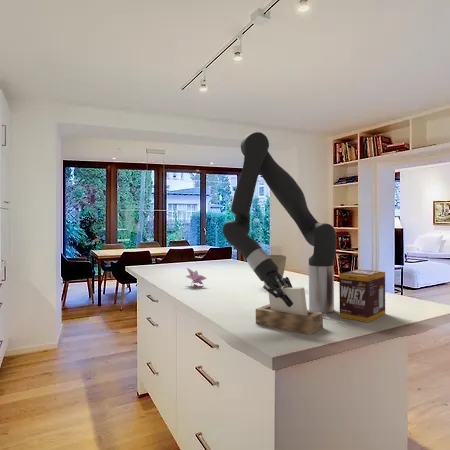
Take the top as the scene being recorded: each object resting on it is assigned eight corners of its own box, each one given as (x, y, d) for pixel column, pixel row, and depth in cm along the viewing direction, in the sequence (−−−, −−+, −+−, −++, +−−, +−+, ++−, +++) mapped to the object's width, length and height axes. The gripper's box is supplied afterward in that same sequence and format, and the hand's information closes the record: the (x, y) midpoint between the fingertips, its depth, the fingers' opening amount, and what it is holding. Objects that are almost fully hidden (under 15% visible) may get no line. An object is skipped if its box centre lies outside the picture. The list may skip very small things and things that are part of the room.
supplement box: (338, 317, 128) (338, 273, 128) (358, 309, 139) (358, 268, 138) (367, 322, 120) (367, 276, 120) (385, 313, 131) (385, 271, 131)
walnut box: (255, 322, 122) (255, 308, 121) (270, 317, 128) (270, 303, 128) (309, 334, 109) (309, 318, 109) (322, 327, 116) (322, 312, 115)
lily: (207, 290, 185) (211, 272, 190) (187, 283, 181) (191, 265, 185) (197, 293, 195) (200, 277, 199) (177, 287, 190) (181, 270, 194)
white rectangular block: (271, 318, 121) (268, 289, 122) (276, 317, 123) (272, 287, 124) (303, 320, 113) (299, 288, 114) (308, 318, 116) (304, 287, 116)
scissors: (319, 310, 137) (361, 322, 119) (319, 312, 137) (361, 325, 119) (297, 313, 132) (338, 327, 114) (297, 316, 132) (338, 330, 114)
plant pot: (285, 283, 194) (285, 254, 194) (287, 289, 179) (287, 257, 179) (257, 283, 196) (257, 254, 195) (257, 289, 181) (257, 257, 181)
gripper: (256, 259, 118) (290, 301, 110) (279, 255, 128) (311, 294, 121) (244, 273, 121) (275, 316, 114) (266, 269, 132) (297, 307, 124)
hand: (293, 304), depth 117 cm, fingers closed on white rectangular block, 2 cm apart
